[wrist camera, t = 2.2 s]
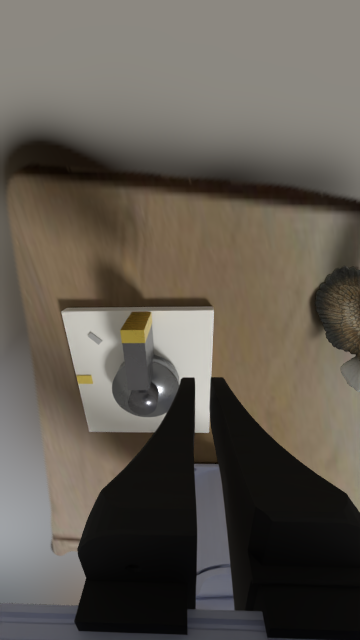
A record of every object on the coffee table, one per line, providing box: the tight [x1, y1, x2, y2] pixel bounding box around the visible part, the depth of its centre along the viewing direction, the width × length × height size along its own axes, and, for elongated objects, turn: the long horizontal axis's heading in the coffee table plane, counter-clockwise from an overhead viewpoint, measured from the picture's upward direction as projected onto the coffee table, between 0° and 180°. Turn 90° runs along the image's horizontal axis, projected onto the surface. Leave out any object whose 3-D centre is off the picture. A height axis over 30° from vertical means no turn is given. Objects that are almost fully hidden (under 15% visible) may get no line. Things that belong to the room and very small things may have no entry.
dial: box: [112, 312, 180, 417], centre depth 19 cm, size 10×6×4 cm, turn 1°
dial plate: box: [61, 306, 214, 433], centre depth 22 cm, size 13×14×1 cm
